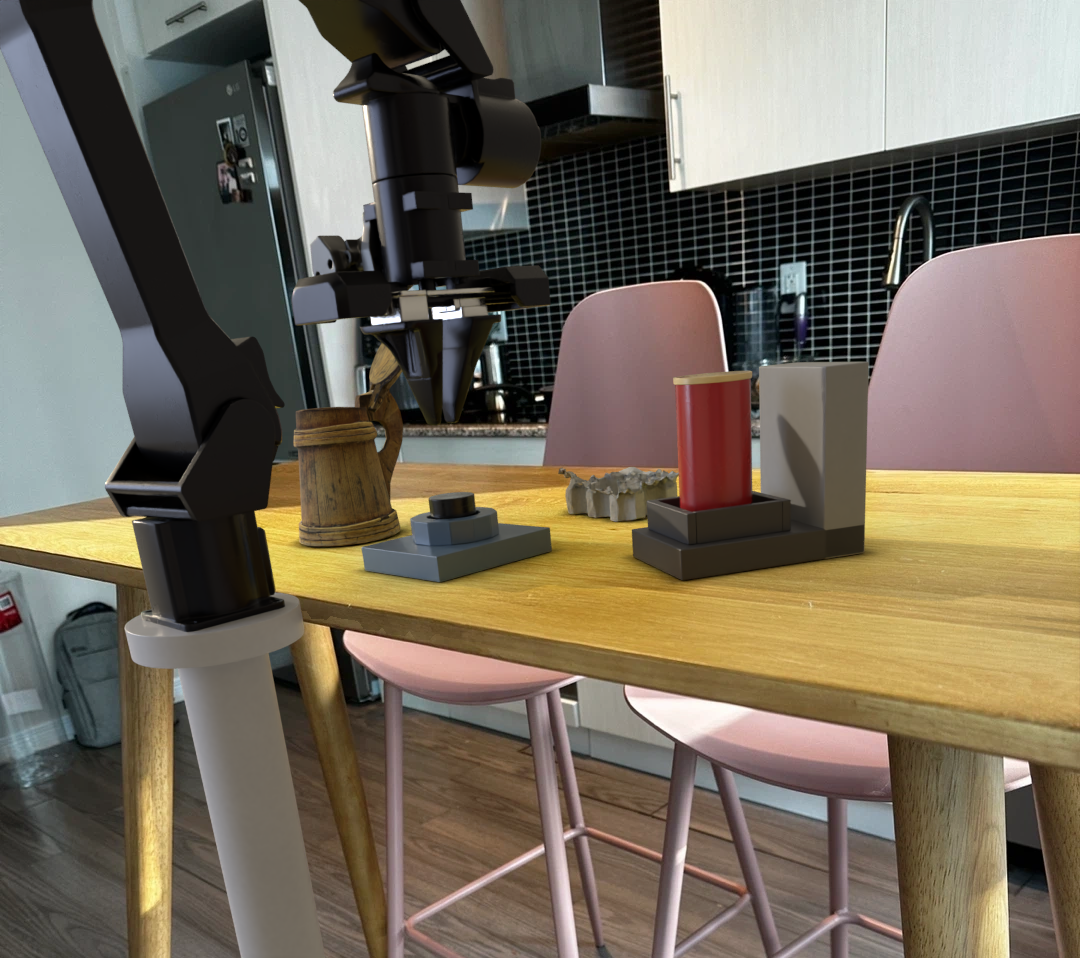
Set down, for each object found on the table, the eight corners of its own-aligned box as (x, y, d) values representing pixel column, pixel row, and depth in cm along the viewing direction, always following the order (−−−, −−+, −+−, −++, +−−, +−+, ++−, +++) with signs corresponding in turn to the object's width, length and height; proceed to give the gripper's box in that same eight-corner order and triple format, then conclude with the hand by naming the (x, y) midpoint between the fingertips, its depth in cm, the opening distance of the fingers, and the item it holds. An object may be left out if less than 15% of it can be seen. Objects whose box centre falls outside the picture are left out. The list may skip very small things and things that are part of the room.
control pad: (440, 582, 71) (433, 532, 70) (364, 570, 77) (357, 524, 76) (552, 551, 78) (548, 504, 77) (474, 542, 84) (469, 499, 83)
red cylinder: (725, 539, 66) (720, 376, 63) (664, 534, 69) (657, 379, 66) (769, 525, 69) (767, 369, 66) (709, 521, 73) (704, 372, 69)
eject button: (451, 524, 74) (448, 500, 73) (421, 522, 76) (419, 498, 76) (486, 516, 76) (483, 492, 76) (456, 514, 79) (454, 491, 78)
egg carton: (556, 513, 95) (552, 468, 93) (624, 501, 98) (621, 457, 97) (619, 524, 86) (616, 474, 85) (692, 510, 89) (690, 462, 88)
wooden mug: (462, 524, 93) (438, 311, 87) (323, 551, 86) (286, 322, 80) (416, 516, 100) (391, 319, 94) (284, 540, 93) (248, 329, 87)
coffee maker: (682, 580, 65) (674, 382, 61) (632, 557, 73) (622, 380, 69) (864, 553, 68) (869, 361, 64) (797, 533, 76) (797, 362, 72)
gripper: (446, 203, 80) (468, 411, 85) (229, 198, 68) (271, 440, 74) (546, 178, 72) (564, 408, 78) (321, 168, 60) (361, 440, 66)
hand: (443, 423), depth 74 cm, fingers closed
